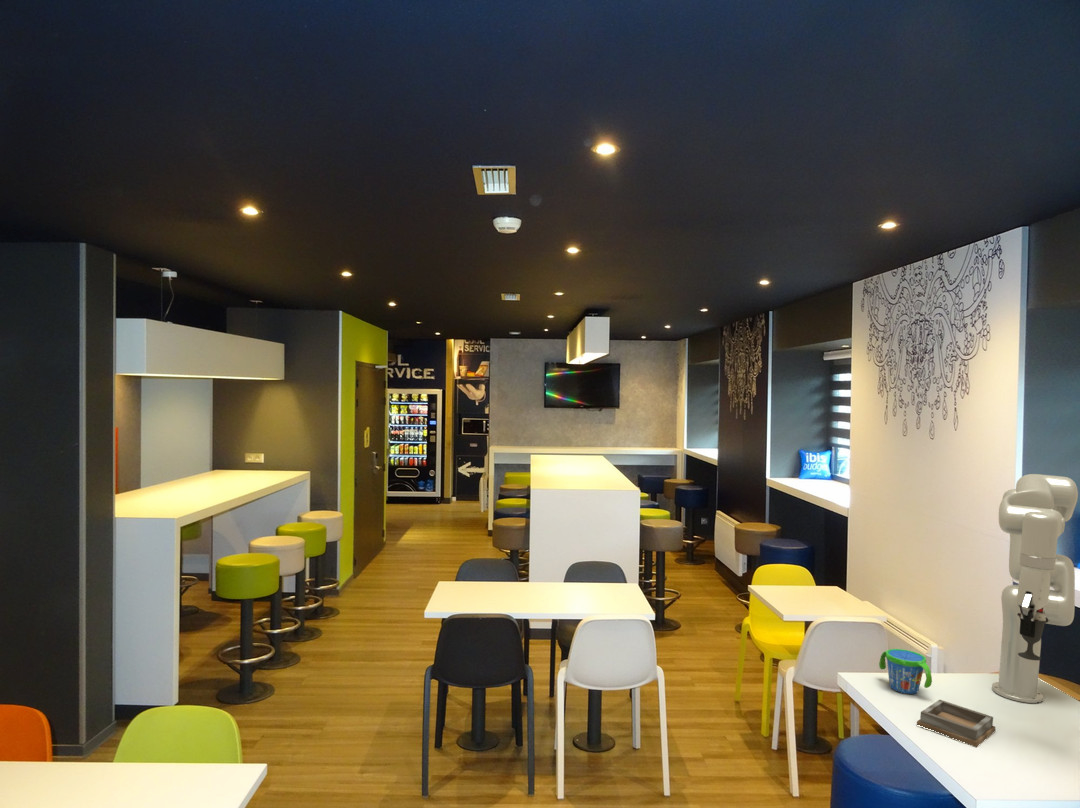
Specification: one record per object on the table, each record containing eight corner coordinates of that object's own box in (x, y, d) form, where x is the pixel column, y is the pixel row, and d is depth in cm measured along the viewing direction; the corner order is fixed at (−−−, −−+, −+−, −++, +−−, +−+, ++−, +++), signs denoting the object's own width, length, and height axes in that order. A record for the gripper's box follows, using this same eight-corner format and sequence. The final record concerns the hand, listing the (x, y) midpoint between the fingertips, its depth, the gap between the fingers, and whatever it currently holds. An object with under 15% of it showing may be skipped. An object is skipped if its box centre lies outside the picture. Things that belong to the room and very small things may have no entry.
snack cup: (868, 680, 225) (871, 646, 225) (896, 677, 229) (898, 644, 228) (911, 702, 210) (914, 666, 210) (940, 699, 214) (942, 663, 214)
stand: (937, 711, 205) (938, 698, 205) (995, 731, 195) (996, 717, 195) (916, 725, 196) (917, 711, 196) (976, 747, 185) (977, 732, 185)
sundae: (1050, 663, 187) (1055, 603, 186) (1020, 659, 188) (1025, 599, 188) (1038, 653, 193) (1043, 595, 193) (1009, 650, 195) (1014, 592, 194)
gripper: (1030, 554, 198) (1024, 622, 199) (1009, 563, 187) (1003, 635, 187) (1064, 560, 193) (1058, 630, 194) (1044, 570, 181) (1038, 644, 182)
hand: (1031, 632), depth 191 cm, fingers closed on sundae, 6 cm apart
